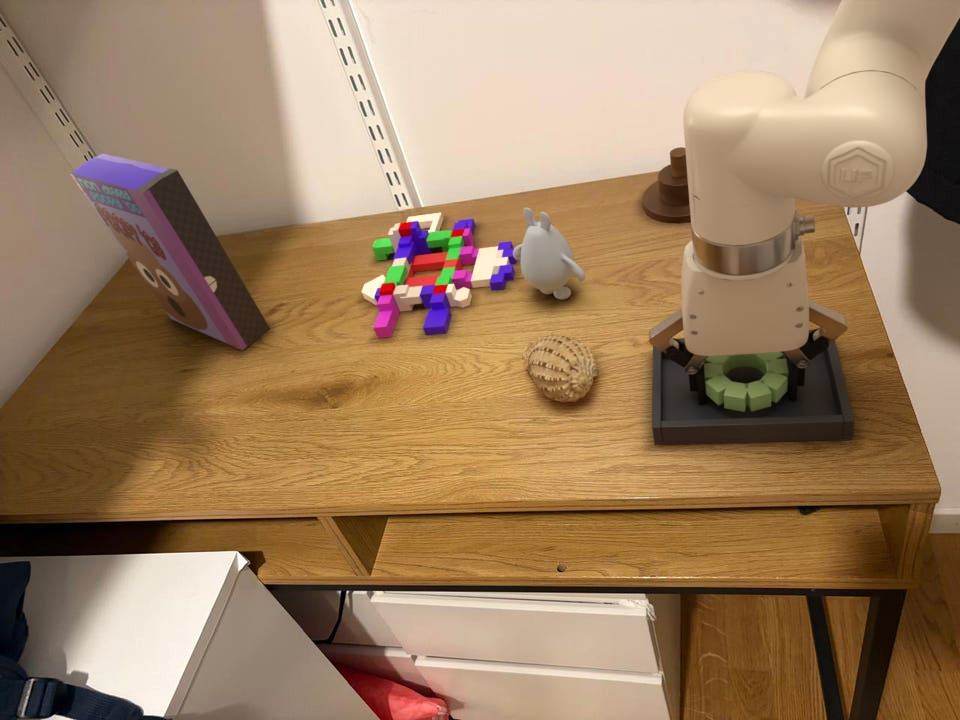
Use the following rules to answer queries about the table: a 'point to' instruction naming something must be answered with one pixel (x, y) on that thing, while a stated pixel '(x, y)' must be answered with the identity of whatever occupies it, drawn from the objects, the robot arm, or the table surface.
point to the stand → (670, 191)
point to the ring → (751, 393)
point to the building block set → (434, 289)
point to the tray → (805, 419)
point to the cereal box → (172, 247)
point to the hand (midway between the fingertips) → (745, 390)
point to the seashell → (560, 367)
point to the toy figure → (546, 257)
